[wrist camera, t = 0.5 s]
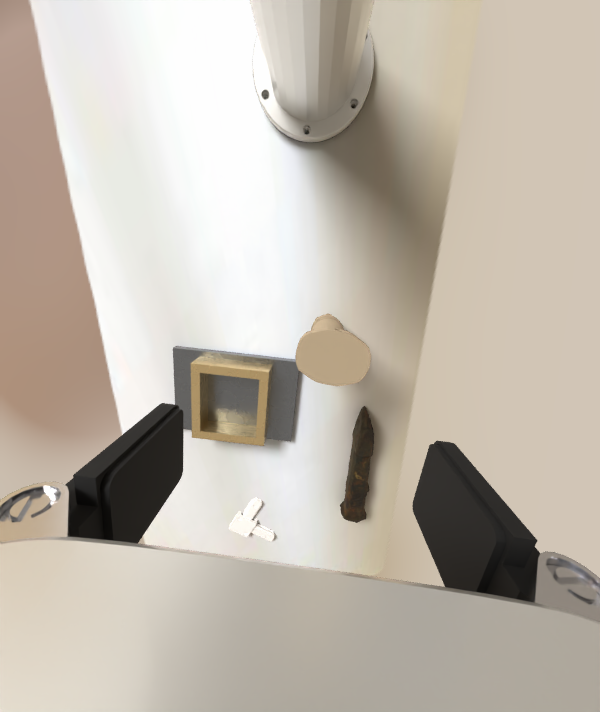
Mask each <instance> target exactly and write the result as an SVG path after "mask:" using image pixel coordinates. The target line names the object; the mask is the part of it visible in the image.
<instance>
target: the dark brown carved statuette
mask: <svg viewBox="0 0 600 712" xmlns="http://www.w3.org/2000/svg"><path fill="white" fill-rule="evenodd" d="M373 444H374V433H373V428H372V425H371V420H370V418H369V415H368V412H367V410H366V407H365V406H364V407H363V408H362V409H361V411H360V413H359V416H358V419H357V421H356V424H355V428H354V431H353V442H352V449H351V455H350V462H349V471H348V476H347V481H346V490H345V491H346V493H345V499H344V501H343V502H342V503H341V505H340V506H341V514H342V516H343V518H344V519H346V520H348V521H353V522H356V523H357V522H360V521H361V520H364V519H366V512H365V509H364V505H365V497H366V495H367V492H368V491H369V486H368V475H369V465H370V457H371V456H372V454H373Z"/></svg>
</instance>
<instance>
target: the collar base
mask: <svg viewBox="0 0 600 712" xmlns="http://www.w3.org/2000/svg"><path fill="white" fill-rule="evenodd" d="M173 360H174V386H175V405H178V406H179V409H181V410H183V414H184V415H183V429H191V430H192V437H193V438H201V439H209V440H218V441H226V442H235V443H243V444H252V445H260V446H264V443H265V439H266V438H267V439H276V440H284V441H291V437H292V428H293V419H294V410H295V401H296V392H297V383H298V374H299V370H298V367H297V365H296V360H294V359H286V358H277V357H268V356H259V355H251V354H242V353H233V352H224V351H216V350H207V349H198V348H189V347H181V346H176V347H174V348H173Z"/></svg>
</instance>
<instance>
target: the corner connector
mask: <svg viewBox="0 0 600 712" xmlns="http://www.w3.org/2000/svg"><path fill="white" fill-rule="evenodd" d="M262 504H263V503H262V500H261V499H259V498H255V499H254V498H253V499H252V500H251V501H250V503H249V504H248V506H247V507H246V509H245V510H244V512H243V513H242V512H241V511H238V513H237V514H236V516H235V517H234V519H233V520H232V522H231V523H230V526H229V529H230V530H232V531H234V532H236V533H238V534H240V535H243V536H245V537H248V536H249V534H250V533H253V534H255V535H257V536H260V537H262V538H264V539H266V540H268V541H273V539H274V536H275V533H274V532H273V531H272V530H271V529H268V528H266V527H264V526H262V525H260V524H258V523H257V520H258V519H256V518H254V516H255V515H256V513H257V512H258V511H259V509H260V508H261V506H262ZM241 513H242V515H241ZM253 518H254V520H252V519H253Z"/></svg>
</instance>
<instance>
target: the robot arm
mask: <svg viewBox="0 0 600 712" xmlns="http://www.w3.org/2000/svg"><path fill="white" fill-rule="evenodd" d="M250 4H251V8H252V12H253V17H254V21H255V25H256V29H257V33H258V35H257V39H256V42H255V46H254V54H253V77H254V83H255V88H256V92H257V95H258V98H259V101H260V103H261V105H262V108H263V110H264V112H265V114H266V115H267V117H268V118H269V120H270V121H271V122H272V123H273V124H274V125H275V126H276V128H277V129H278V130H279V131H281V132H282V133H284V134H285V135H287V136H288V137H291V138H293V139H296V140H298V141H304V142H320V141H323V140H326V139H330V138H332V137H333V136H335V135H337V134H339V133H340V132H342V131H343V130H344V129H345V128H346V127H348V126H349V125H350V124H351V122H352V121H353V120H354V119H355V118H356V116H357V115H358V113H359V111H360V110H361V108H362V106H363V105H364V102H365V99H366V97H367V94H368V92H369V88H370V84H371V81H372V75H373V68H374V49H373V43H372V37H371V33H370V30H369V27H368V26H369V21H370V17H371V12H372V8H373V4H374V0H250ZM266 97H268V99H266V100H265V98H266ZM351 106H355V108H354V109H353V108H351ZM306 131H308V132H309V134H308V135H306V134H305V132H306ZM183 415H184V414H183V410H181V409H179V406H178V405H173V404H165V403H162V404H160V405H159V406H157V407H156V408H155V409H154V410H152V411H151V412H150V413H149V414H148V415H146V416H145V417H144V418H143V419H141V420H140V421H139V422H138V423H137V424H135V425H134V426H133V427H132V428H130V429H129V430H128V431H127V432H126V433H124V434H123V435H122V436H121V437H119V438H118V439H117V440H116V441H115V442H113V443H112V444H111V445H110V446H108V447H107V448H106V449H105V450H103V451H102V452H101V453H100V454H99V455H97V456H96V457H95V458H94V459H92V460H91V461H90V462H89V463H88V464H86V465H85V466H84V467H83V468H81V469H80V470H79V471H78V472H76V474H74V475H73V477H74V478H73V479H72V480H70V482H68V483H67V484H66V485H64V484H62V483H59V482H43V483H37V484H33V485H29V486H27V487H23V488H21V489H19V490H17V491H14V492H12V493H10V494H9V495H7V496H5V497H4V498H2V499H1V500H0V712H600V578H599V577H598V576H597V575H595V574H594V573H593V572H591V571H590V570H589V569H587V568H586V567H585V566H583V565H581V564H580V563H578V562H576V561H575V560H573V559H571V558H568V557H566V556H564V555H561V554H558V553H555V552H543V553H541V554H540V553H539V551H538V550H537V549H536V548H535V547H534V546H535V544H536V542H537V540H536V539H535V537H534V536H533V535H532V534H531V532H530V531H529V530H528V529H527V528H526V527H525V525H524V524H523V523H522V522H521V521H520V520H519V519H518V517H517V516H516V515H515V514H514V513H513V511H512V510H511V509H510V508H509V507H508V506H507V504H506V503H505V502H504V501H503V500H502V499H501V497H500V496H499V495H498V494H497V493H496V492H495V490H494V489H493V488H492V487H491V486H490V485H489V483H488V482H487V481H486V480H485V479H484V477H483V476H482V475H481V474H480V473H479V472H478V471H477V470H476V468H475V467H474V466H473V465H472V463H471V462H470V461H469V460H468V459H467V458H466V457H465V455H464V454H463V453H462V452H461V451H460V449H459V448H458V447H457V446H456V445H455V444H454V443H450V442H443V441H436V442H435V443H434V444H431V445H430V446H429V449H428V452H427V456H426V459H425V463H424V466H423V469H422V473H421V476H420V480H419V483H418V486H417V490H416V493H415V497H414V500H413V512H414V515H415V517H416V519H417V522H418V524H419V526H420V529H421V531H422V533H423V536H424V538H425V541H426V543H427V545H428V548H429V550H430V552H431V555H432V557H433V559H434V561H435V564H436V566H437V569H438V571H439V573H440V576H441V578H442V580H443V583H444V585H445V587H441V586H434V585H427V584H421V583H414V582H407V581H401V580H394V579H387V578H381V577H374V576H367V575H361V574H354V573H347V572H340V571H333V570H326V569H319V568H312V567H306V566H298V565H291V564H284V563H277V562H270V561H263V560H256V559H249V558H242V557H235V556H227V555H220V554H213V553H205V552H198V551H191V550H183V549H176V548H169V547H161V546H154V545H146V544H138V542H139V540H140V539H141V538H142V536H143V535H144V533H145V532H146V530H147V529H148V527H149V526H150V524H151V523H152V521H153V520H154V518H155V517H156V515H157V514H158V512H159V511H160V509H161V508H162V506H163V505H164V503H165V502H166V500H167V499H168V497H169V496H170V494H171V493H172V491H173V490H174V488H175V487H176V485H177V484H178V482H179V480H180V479H181V476H182V472H183Z"/></svg>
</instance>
